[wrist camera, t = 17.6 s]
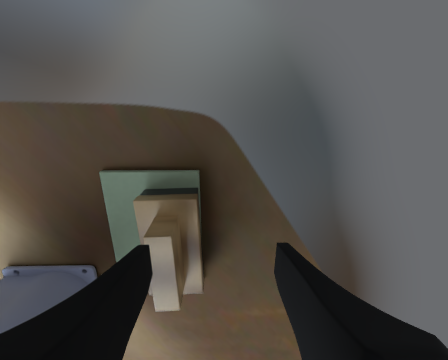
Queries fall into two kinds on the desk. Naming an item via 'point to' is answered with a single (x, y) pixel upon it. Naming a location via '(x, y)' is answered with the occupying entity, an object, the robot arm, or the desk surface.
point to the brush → (171, 243)
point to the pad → (125, 194)
